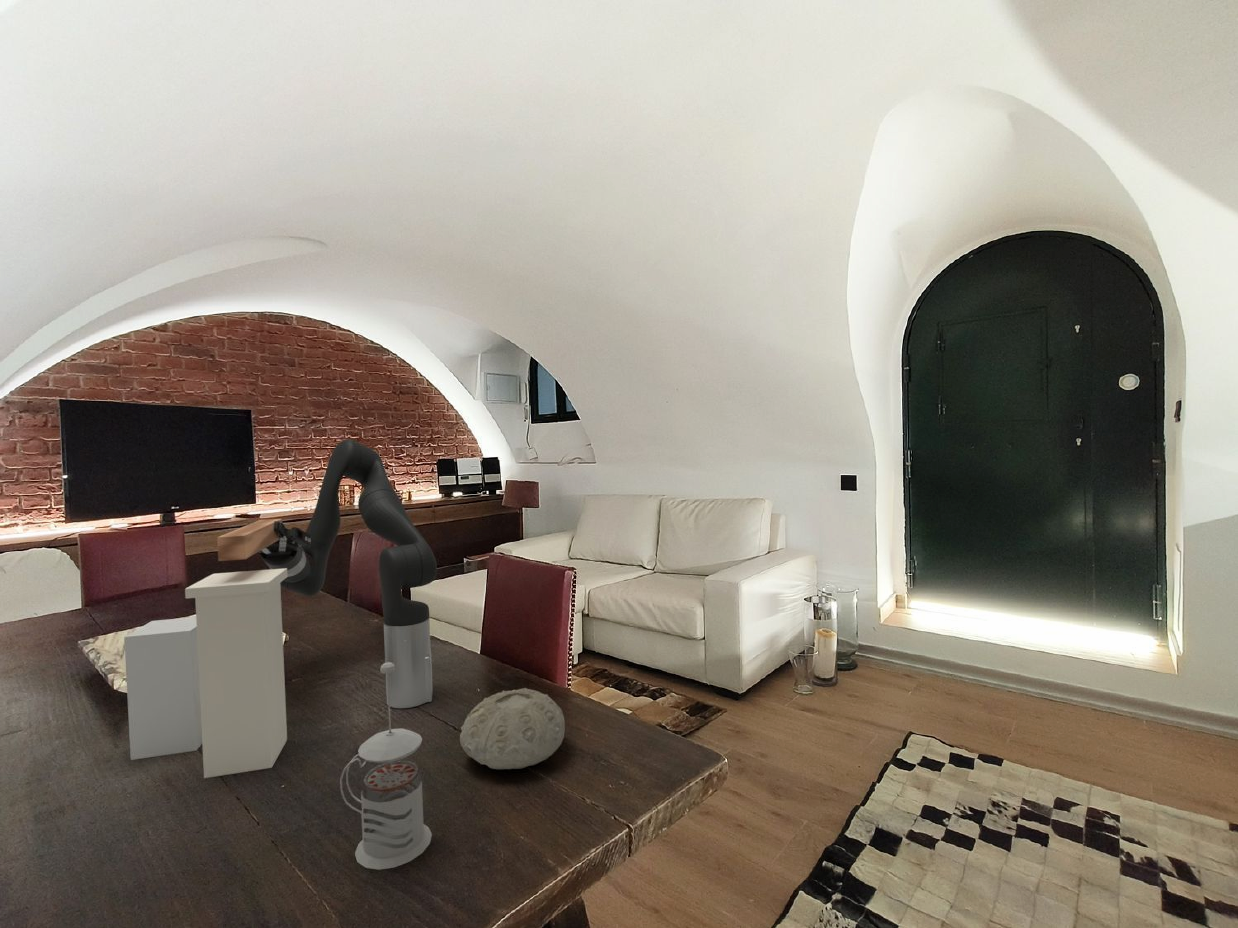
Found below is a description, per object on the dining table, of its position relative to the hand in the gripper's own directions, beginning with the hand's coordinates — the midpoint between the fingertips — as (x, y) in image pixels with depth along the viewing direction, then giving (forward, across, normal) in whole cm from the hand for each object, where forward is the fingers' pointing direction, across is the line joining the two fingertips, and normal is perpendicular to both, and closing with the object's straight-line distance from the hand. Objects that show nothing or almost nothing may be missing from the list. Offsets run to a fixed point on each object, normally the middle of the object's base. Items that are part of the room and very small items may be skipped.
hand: (263, 526), depth 117 cm
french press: (+21, +26, +58) cm, 67 cm away
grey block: (-16, -15, +36) cm, 42 cm away
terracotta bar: (+4, 0, +6) cm, 7 cm away
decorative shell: (+6, +45, +49) cm, 66 cm away
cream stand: (-7, 0, +41) cm, 42 cm away
